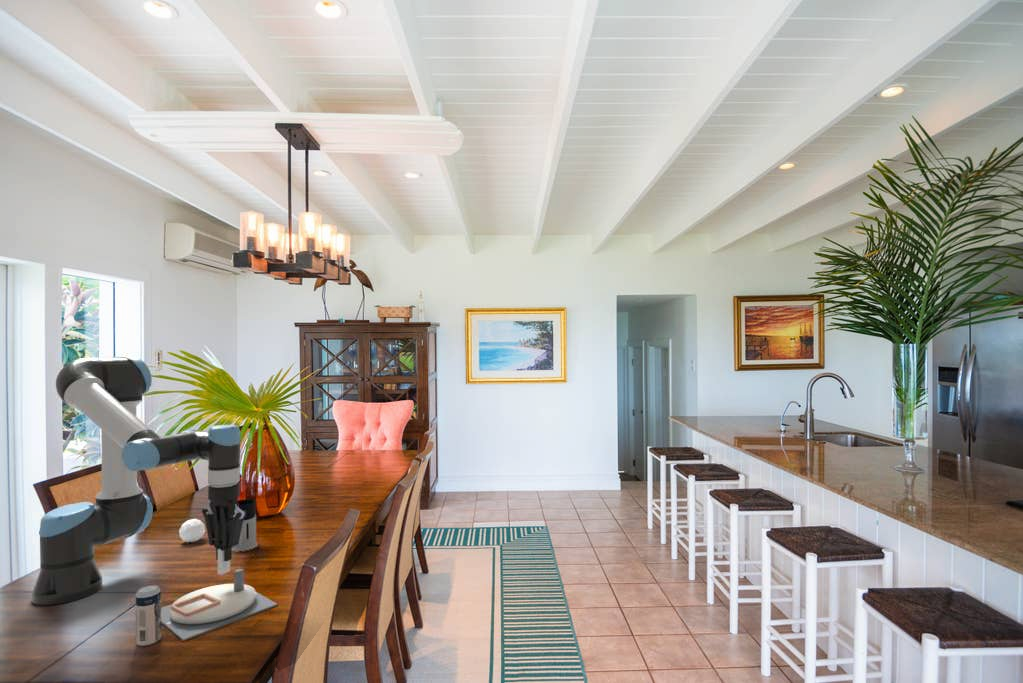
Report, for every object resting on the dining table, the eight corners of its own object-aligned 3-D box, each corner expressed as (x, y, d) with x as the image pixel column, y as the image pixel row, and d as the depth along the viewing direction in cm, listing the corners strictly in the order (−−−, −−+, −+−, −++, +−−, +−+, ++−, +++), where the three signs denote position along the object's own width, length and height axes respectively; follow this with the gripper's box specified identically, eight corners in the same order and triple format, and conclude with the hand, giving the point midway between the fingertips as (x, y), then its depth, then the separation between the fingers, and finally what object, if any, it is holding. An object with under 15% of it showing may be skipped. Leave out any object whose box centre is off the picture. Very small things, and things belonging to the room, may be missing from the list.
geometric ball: (191, 551, 191) (181, 537, 186) (181, 539, 195) (171, 525, 190) (212, 535, 195) (203, 521, 190) (202, 524, 200) (192, 510, 195)
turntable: (194, 631, 127) (193, 603, 127) (156, 611, 138) (155, 584, 138) (270, 600, 143) (270, 574, 143) (230, 583, 154) (230, 560, 154)
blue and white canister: (164, 641, 125) (163, 587, 125) (139, 650, 122) (139, 595, 122) (157, 634, 128) (156, 582, 128) (133, 642, 125) (132, 589, 125)
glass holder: (258, 541, 191) (258, 497, 192) (255, 555, 178) (254, 508, 178) (230, 544, 188) (230, 500, 189) (224, 559, 175) (224, 511, 175)
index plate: (183, 641, 125) (183, 637, 125) (149, 613, 139) (149, 609, 139) (277, 605, 142) (277, 602, 142) (239, 583, 156) (239, 580, 156)
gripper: (254, 482, 149) (254, 569, 149) (216, 478, 153) (215, 564, 153) (232, 489, 142) (232, 581, 142) (193, 485, 146) (192, 574, 146)
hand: (223, 572), depth 147 cm, fingers closed
